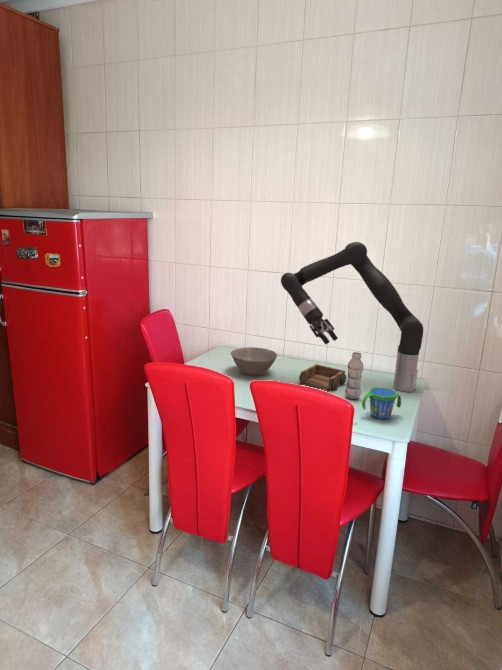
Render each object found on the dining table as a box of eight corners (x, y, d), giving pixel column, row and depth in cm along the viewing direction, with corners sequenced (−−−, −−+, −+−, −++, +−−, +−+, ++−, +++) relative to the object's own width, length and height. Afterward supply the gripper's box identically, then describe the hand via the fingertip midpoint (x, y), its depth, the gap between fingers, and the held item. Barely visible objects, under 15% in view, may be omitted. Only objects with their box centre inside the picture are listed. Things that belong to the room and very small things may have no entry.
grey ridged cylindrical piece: (360, 401, 196) (365, 356, 191) (344, 399, 197) (348, 354, 192) (360, 396, 202) (365, 352, 197) (344, 394, 203) (348, 350, 198)
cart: (327, 395, 201) (329, 382, 199) (293, 386, 210) (294, 373, 208) (346, 383, 217) (347, 371, 215) (313, 375, 226) (314, 363, 225)
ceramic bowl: (244, 363, 241) (245, 344, 238) (284, 372, 229) (285, 352, 227) (220, 374, 222) (221, 354, 220) (262, 384, 211) (263, 363, 208)
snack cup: (365, 421, 176) (368, 396, 173) (356, 410, 186) (359, 386, 184) (404, 421, 178) (408, 396, 175) (394, 410, 188) (397, 387, 185)
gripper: (308, 308, 195) (331, 339, 192) (323, 304, 207) (344, 333, 204) (296, 318, 200) (318, 349, 196) (311, 314, 211) (332, 343, 208)
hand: (332, 341), depth 200 cm, fingers open, 8 cm apart
